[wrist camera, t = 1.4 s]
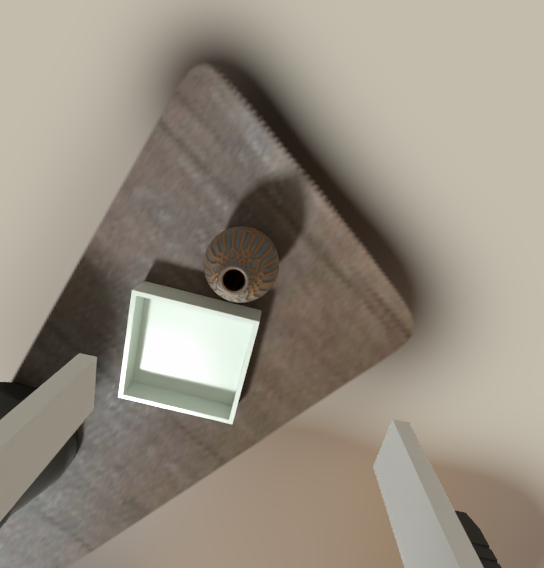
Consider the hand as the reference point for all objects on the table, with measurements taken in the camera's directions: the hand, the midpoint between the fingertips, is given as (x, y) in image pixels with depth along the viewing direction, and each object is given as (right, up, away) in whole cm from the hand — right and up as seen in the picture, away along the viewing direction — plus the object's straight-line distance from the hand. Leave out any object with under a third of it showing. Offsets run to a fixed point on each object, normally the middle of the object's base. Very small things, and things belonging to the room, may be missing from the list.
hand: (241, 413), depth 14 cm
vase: (-1, +9, +20) cm, 22 cm away
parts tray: (-8, -2, +23) cm, 24 cm away
